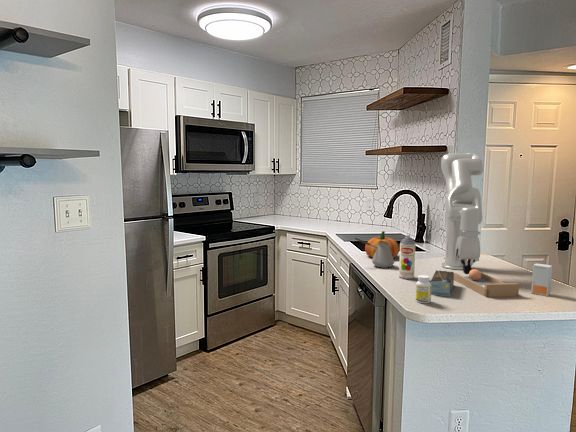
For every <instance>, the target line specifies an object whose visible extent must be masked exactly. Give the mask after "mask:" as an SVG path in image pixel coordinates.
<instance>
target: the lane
mask: <svg viewBox="0 0 576 432" xmlns="http://www.w3.org/2000/svg"><path fill="white" fill-rule="evenodd" d="M454 282H456V283H459V284H461V285H463V286H464V287H466V288H468V289H470V290H473V291H474V292H476V293H477V294H479V295H482V296H483V297H485V298H502V297H503V298H504V297H506V298H508V297H510V298H511V297H512V298H513V297H519V291H520V284H519V283H517V282H509V283H508V282H507V283H506V282H504V281H502V280H499V279H497V278H496V277H492V276H490V275H488V274H486V273H483V272H481V278H480V279H479V280H472V279H471V278H470V277H469V276H463V275H461V274H459V273H457V272H454Z"/></svg>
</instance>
